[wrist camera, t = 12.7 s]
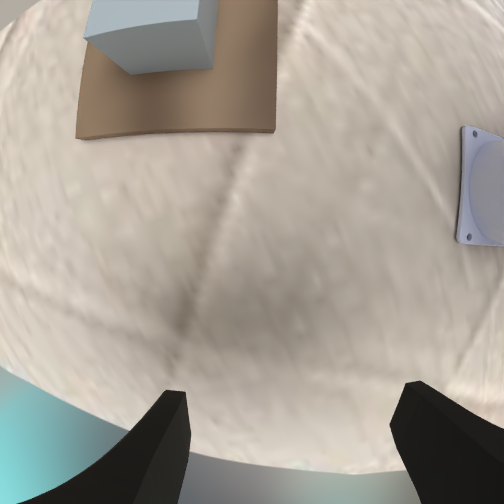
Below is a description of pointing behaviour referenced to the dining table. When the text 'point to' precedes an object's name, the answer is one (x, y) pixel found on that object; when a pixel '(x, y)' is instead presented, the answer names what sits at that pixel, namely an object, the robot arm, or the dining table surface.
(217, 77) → the walnut base board
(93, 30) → the slate block
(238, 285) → the dining table surface
